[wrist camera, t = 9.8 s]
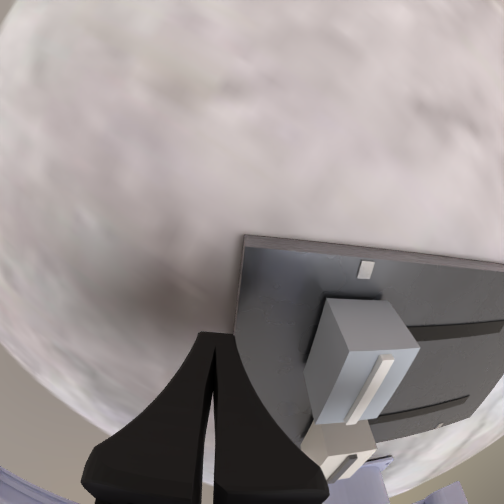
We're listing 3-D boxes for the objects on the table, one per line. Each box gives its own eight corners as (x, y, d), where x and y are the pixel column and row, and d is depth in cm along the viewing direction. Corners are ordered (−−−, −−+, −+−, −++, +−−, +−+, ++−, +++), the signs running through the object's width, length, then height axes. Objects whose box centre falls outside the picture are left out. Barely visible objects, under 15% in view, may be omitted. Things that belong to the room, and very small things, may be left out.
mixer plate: (465, 409, 21) (470, 417, 19) (222, 438, 19) (222, 452, 17) (546, 270, 14) (556, 277, 13) (244, 234, 12) (245, 247, 11)
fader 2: (340, 441, 17) (350, 481, 14) (300, 445, 17) (307, 487, 14) (363, 407, 15) (378, 452, 12) (318, 411, 15) (329, 460, 12)
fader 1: (357, 370, 14) (378, 423, 11) (303, 371, 13) (316, 430, 10) (388, 300, 12) (423, 352, 9) (326, 298, 12) (352, 357, 9)
